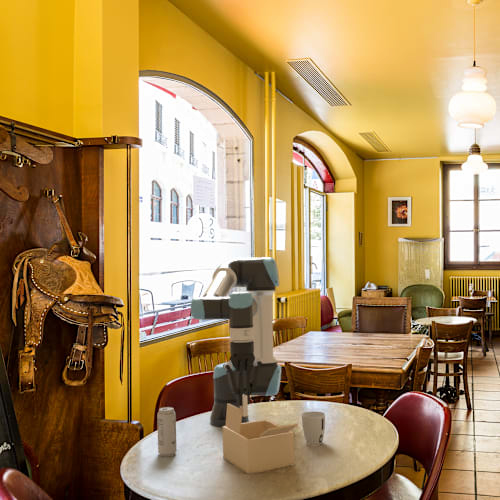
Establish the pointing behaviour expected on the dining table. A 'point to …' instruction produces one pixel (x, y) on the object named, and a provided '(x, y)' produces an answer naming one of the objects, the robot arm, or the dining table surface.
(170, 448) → the energy drink can
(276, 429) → the front flap
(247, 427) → the carton
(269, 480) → the dining table surface
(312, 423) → the cup
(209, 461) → the dining table surface
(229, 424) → the side flap
